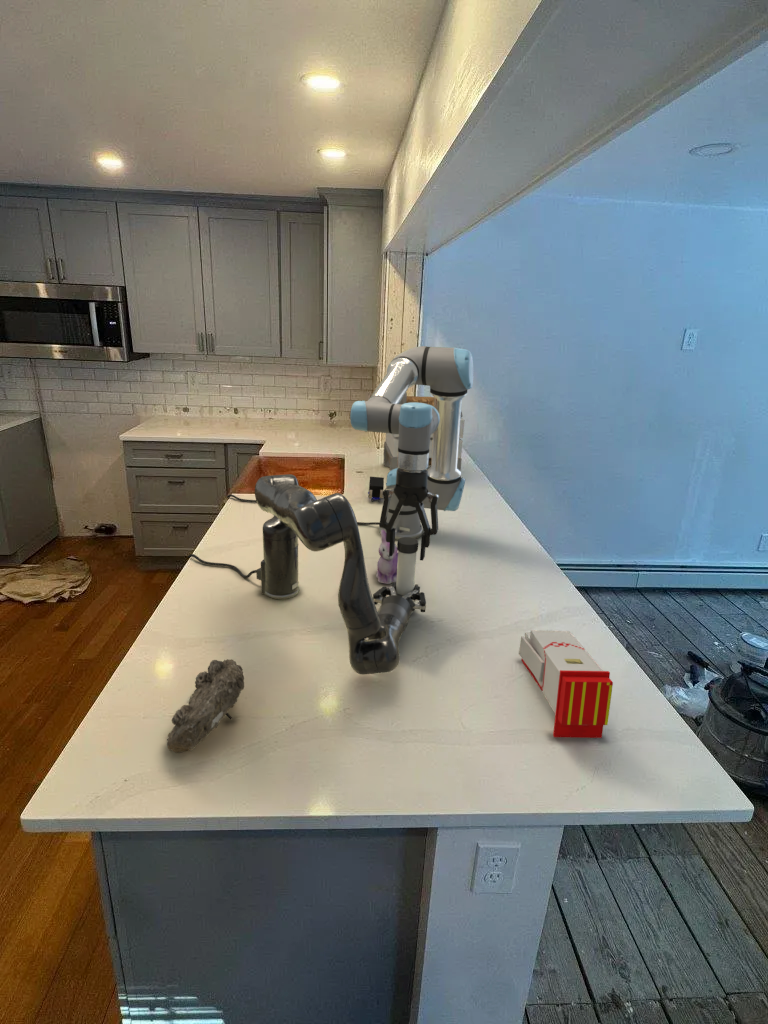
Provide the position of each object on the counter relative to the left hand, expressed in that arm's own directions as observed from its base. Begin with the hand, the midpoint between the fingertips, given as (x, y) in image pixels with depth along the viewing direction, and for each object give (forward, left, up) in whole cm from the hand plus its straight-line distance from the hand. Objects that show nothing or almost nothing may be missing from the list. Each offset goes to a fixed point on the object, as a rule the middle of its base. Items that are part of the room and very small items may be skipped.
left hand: (406, 586), depth 149 cm
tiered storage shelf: (-20, +130, -6) cm, 132 cm away
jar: (0, -3, -6) cm, 7 cm away
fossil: (-26, -53, -6) cm, 60 cm away
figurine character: (-30, +85, -6) cm, 91 cm away
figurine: (-8, +15, -6) cm, 18 cm away
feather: (-60, +52, -6) cm, 80 cm away
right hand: (0, -3, +10) cm, 10 cm away
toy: (+38, -26, -6) cm, 46 cm away
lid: (0, -3, +14) cm, 14 cm away
